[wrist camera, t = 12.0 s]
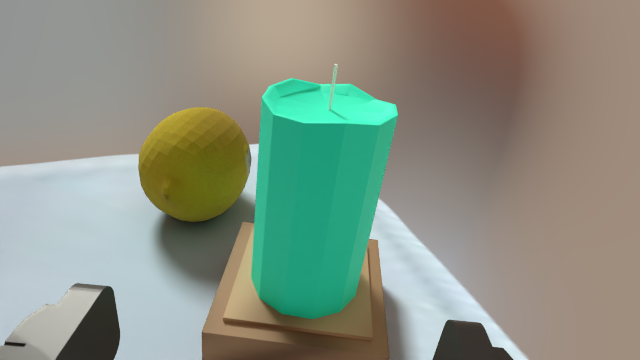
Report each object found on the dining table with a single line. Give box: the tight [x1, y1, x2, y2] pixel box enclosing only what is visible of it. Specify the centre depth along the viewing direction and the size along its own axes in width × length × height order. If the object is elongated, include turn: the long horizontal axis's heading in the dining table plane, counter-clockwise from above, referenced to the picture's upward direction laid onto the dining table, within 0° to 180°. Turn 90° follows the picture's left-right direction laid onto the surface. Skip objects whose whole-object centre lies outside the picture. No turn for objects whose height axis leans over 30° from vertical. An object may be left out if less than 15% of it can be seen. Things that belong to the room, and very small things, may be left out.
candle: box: [251, 64, 398, 319], centre depth 21 cm, size 6×6×12 cm
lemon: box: [138, 107, 251, 222], centre depth 32 cm, size 11×8×8 cm
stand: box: [202, 222, 389, 360], centre depth 24 cm, size 9×9×3 cm
